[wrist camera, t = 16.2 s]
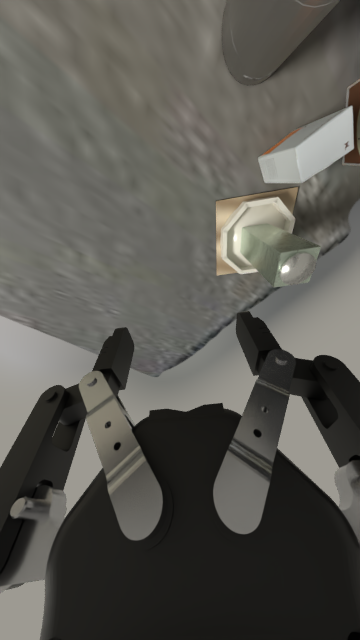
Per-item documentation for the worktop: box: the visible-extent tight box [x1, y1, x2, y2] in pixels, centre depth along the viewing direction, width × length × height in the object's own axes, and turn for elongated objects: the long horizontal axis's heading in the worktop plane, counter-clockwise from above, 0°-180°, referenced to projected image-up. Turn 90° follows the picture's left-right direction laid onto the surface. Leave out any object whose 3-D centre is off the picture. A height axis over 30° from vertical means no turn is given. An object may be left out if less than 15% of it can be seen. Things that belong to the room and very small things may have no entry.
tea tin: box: [240, 223, 321, 287], centre depth 30 cm, size 5×5×17 cm
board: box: [216, 187, 298, 275], centre depth 37 cm, size 15×15×1 cm
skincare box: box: [258, 106, 354, 183], centre depth 25 cm, size 6×4×12 cm
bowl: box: [220, 196, 295, 274], centre depth 36 cm, size 14×14×3 cm
